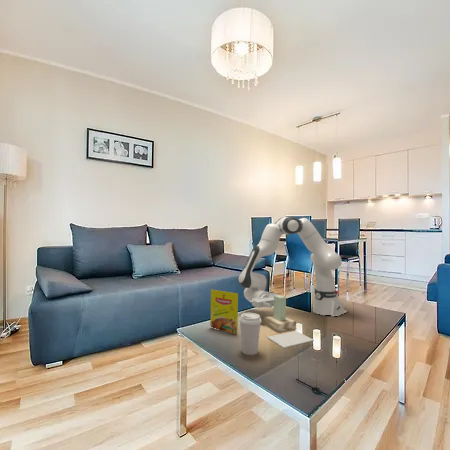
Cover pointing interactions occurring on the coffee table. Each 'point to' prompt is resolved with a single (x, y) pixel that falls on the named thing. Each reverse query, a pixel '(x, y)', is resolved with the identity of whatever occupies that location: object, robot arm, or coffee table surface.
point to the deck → (279, 324)
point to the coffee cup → (250, 332)
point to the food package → (224, 311)
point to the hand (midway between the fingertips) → (277, 305)
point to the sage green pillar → (279, 307)
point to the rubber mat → (289, 339)
